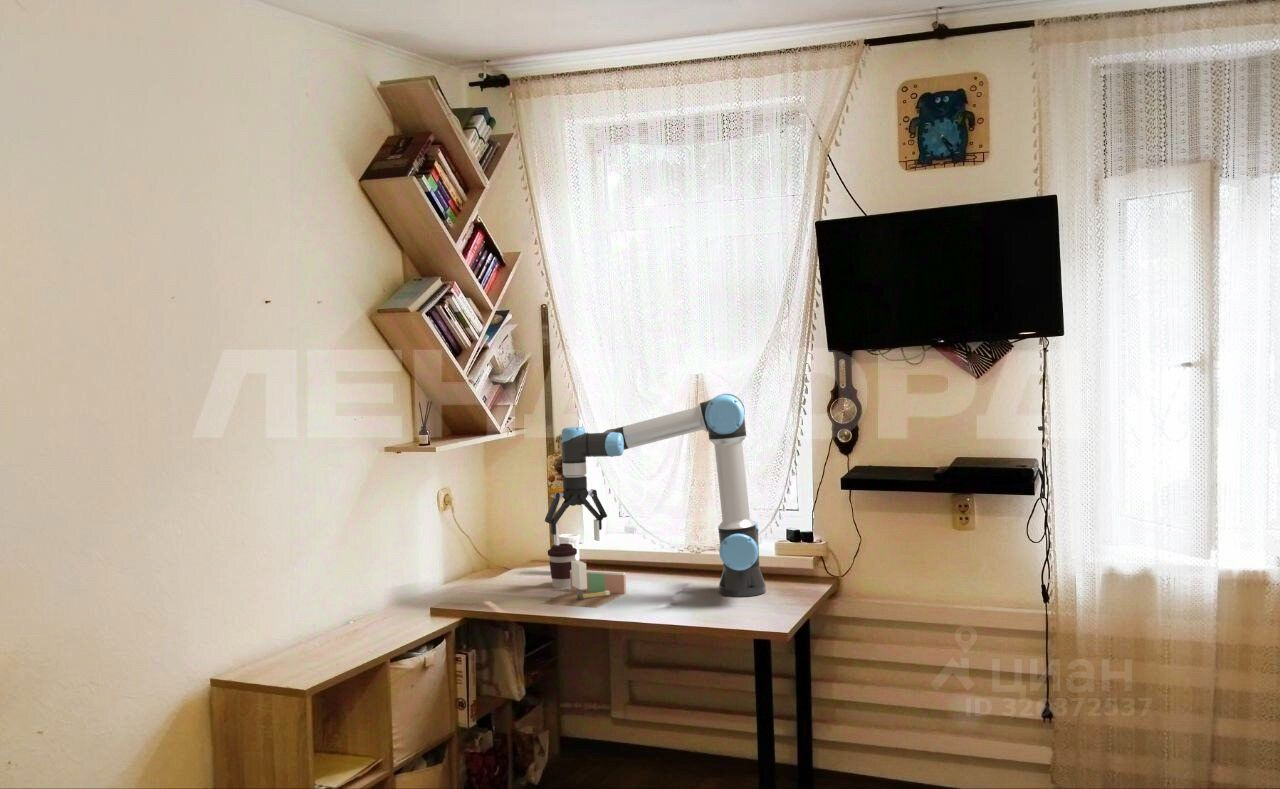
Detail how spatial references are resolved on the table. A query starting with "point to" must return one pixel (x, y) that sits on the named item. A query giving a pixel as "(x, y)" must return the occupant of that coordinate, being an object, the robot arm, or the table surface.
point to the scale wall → (604, 582)
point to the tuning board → (571, 600)
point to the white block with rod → (582, 580)
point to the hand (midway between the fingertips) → (577, 542)
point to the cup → (571, 541)
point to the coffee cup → (561, 564)
